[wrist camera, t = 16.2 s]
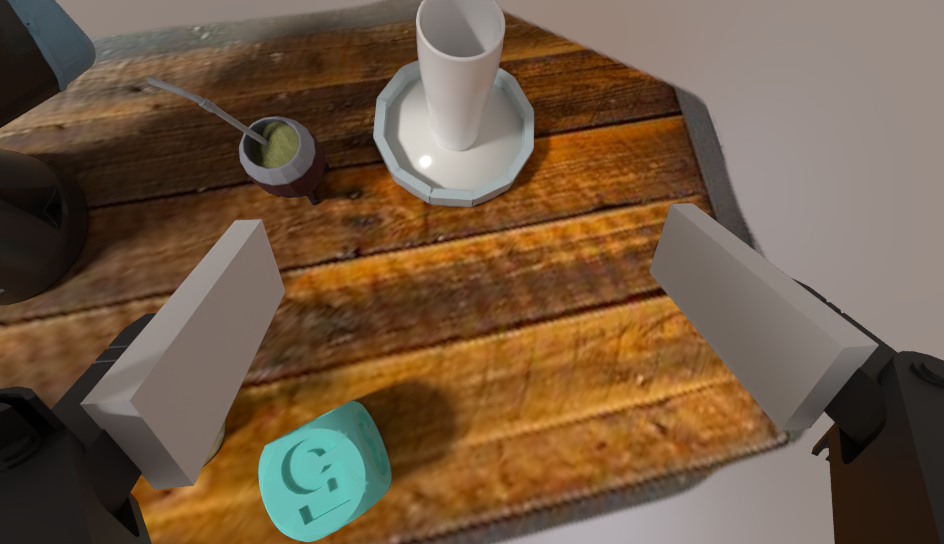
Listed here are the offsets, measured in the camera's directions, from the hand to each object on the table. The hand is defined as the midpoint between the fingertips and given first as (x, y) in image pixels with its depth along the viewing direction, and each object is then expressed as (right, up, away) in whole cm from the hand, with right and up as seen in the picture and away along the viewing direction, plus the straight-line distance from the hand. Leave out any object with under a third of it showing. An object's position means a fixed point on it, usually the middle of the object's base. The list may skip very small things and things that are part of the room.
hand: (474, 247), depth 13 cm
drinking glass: (-2, +15, +31) cm, 34 cm away
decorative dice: (-13, -18, +25) cm, 33 cm away
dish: (-2, +15, +32) cm, 35 cm away
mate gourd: (-19, +9, +30) cm, 36 cm away
